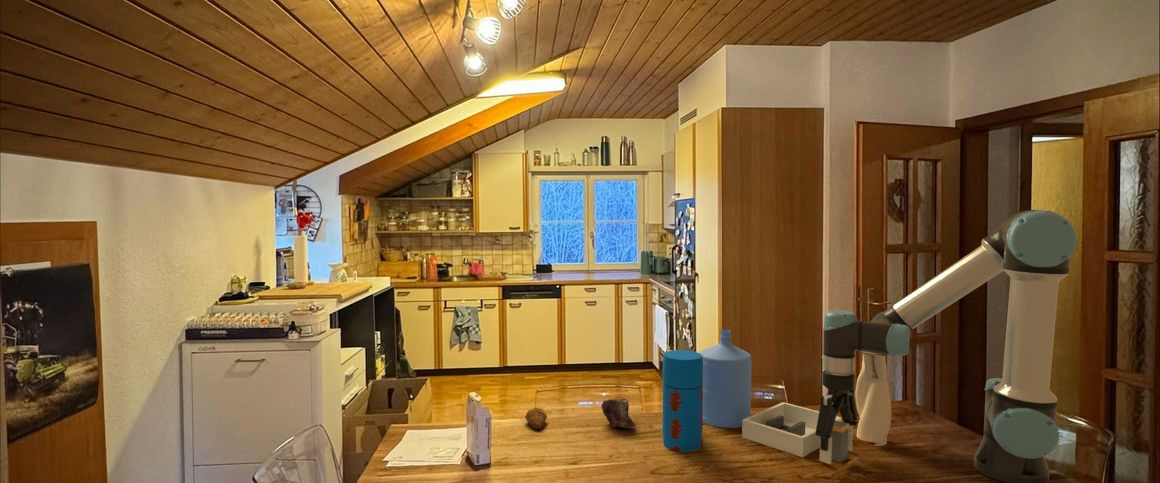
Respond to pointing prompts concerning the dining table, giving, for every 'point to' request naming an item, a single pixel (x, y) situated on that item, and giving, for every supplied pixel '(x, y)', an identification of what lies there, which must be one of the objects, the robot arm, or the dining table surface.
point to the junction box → (782, 439)
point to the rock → (617, 413)
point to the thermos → (682, 400)
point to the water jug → (726, 384)
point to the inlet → (779, 424)
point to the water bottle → (873, 399)
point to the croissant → (536, 418)
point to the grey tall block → (839, 441)
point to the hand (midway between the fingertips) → (836, 455)
